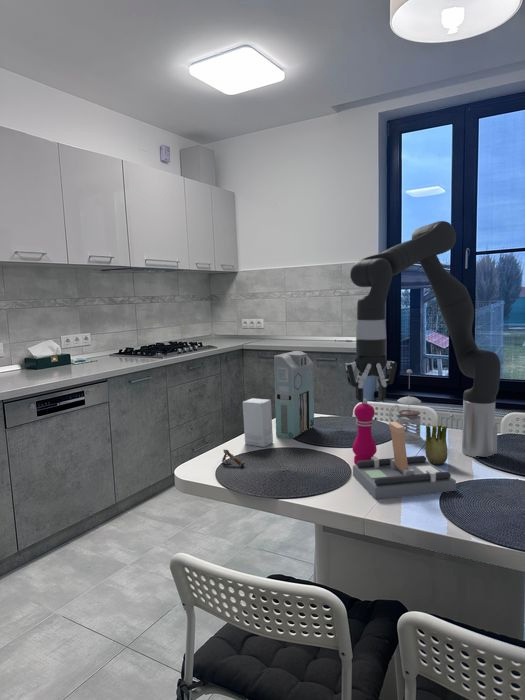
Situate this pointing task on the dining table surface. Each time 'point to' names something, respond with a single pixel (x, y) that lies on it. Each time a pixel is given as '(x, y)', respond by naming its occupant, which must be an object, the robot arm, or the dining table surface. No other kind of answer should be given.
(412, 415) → the french press
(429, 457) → the fennel bulb
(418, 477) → the pair of dark bars
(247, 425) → the skincare box
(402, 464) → the lever
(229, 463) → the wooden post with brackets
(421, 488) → the panel
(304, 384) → the device
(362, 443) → the pepper mill
